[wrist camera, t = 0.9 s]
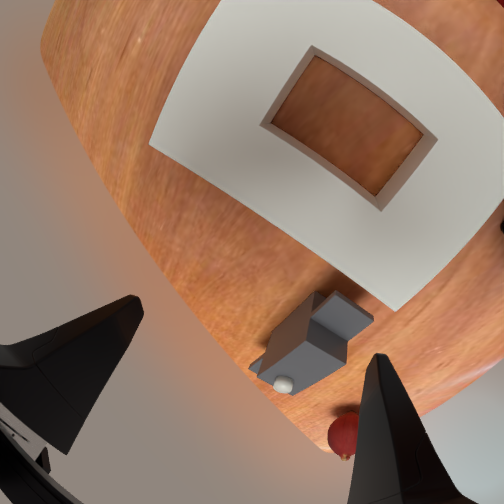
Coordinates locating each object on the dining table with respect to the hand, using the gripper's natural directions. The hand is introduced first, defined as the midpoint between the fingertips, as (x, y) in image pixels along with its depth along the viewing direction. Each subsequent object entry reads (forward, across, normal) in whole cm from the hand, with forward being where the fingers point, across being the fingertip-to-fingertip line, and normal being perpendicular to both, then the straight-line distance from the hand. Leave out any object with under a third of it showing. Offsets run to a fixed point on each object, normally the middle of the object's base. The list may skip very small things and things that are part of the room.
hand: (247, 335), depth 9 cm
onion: (+13, -12, +28) cm, 33 cm away
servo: (+13, -2, +11) cm, 17 cm away
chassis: (+13, -3, -6) cm, 15 cm away
